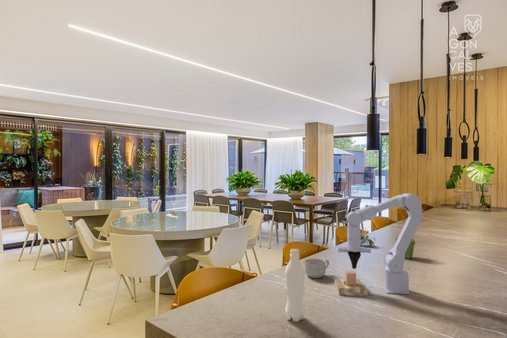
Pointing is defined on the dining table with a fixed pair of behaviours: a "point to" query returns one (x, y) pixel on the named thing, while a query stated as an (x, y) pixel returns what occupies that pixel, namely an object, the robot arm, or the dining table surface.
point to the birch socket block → (351, 288)
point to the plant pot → (409, 249)
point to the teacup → (316, 267)
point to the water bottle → (294, 287)
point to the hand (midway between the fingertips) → (354, 268)
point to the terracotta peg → (350, 278)
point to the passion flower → (365, 239)
